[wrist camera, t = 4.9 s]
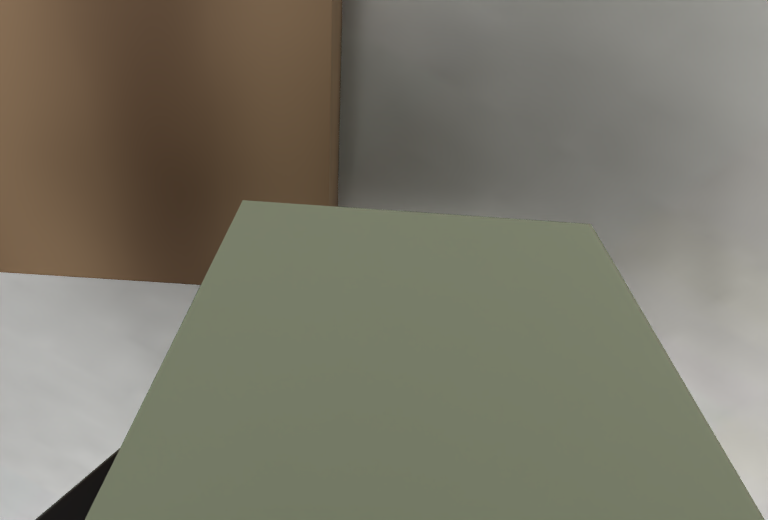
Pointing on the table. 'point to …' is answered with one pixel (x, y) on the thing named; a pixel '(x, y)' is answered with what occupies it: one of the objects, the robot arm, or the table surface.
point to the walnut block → (159, 128)
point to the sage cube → (416, 382)
